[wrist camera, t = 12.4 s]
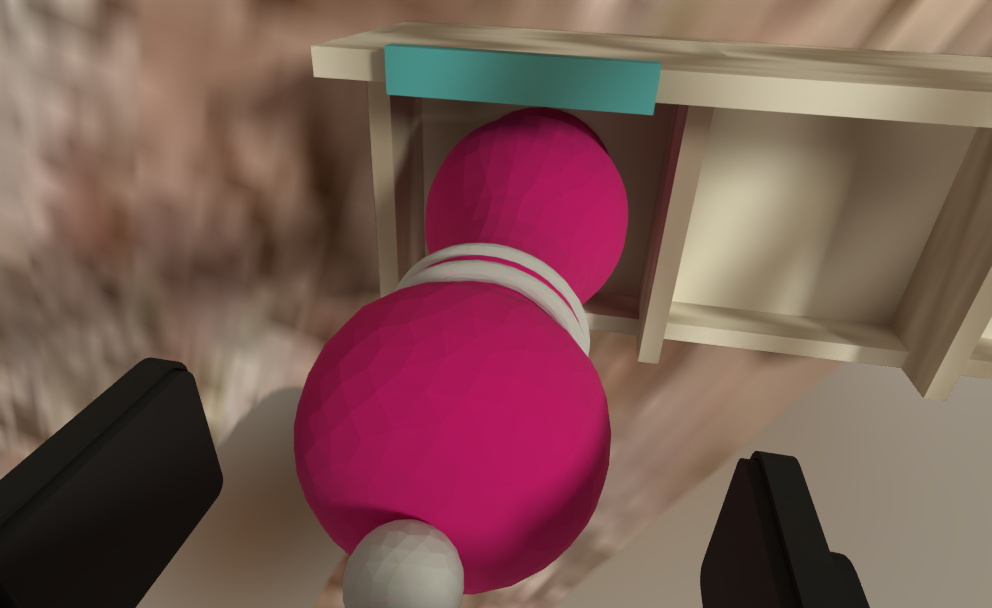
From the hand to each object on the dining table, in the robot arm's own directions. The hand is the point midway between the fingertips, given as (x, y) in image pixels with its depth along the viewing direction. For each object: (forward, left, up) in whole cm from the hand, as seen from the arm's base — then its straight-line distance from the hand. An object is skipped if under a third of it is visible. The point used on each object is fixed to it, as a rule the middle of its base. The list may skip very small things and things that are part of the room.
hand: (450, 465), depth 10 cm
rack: (0, +10, -18) cm, 21 cm away
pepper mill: (0, 0, -17) cm, 17 cm away
